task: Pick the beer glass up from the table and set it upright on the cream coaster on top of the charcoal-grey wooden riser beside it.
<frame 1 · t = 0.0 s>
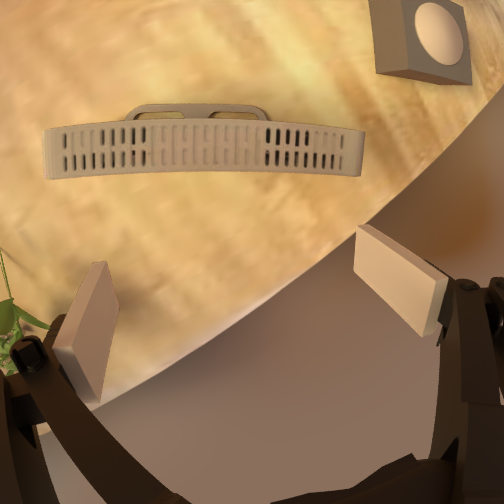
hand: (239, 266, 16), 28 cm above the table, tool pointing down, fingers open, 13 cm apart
network device: (195, 136, 39), on the table
plant cuttings: (0, 308, 41), on the table
riser: (407, 39, 38), on the table
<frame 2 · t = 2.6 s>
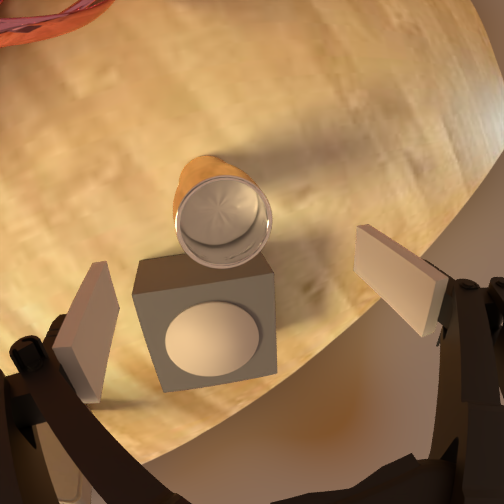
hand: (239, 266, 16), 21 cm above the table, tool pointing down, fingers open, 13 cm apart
beer glass: (206, 182, 35), on the table
network device: (33, 400, 41), on the table
riser: (205, 302, 40), on the table
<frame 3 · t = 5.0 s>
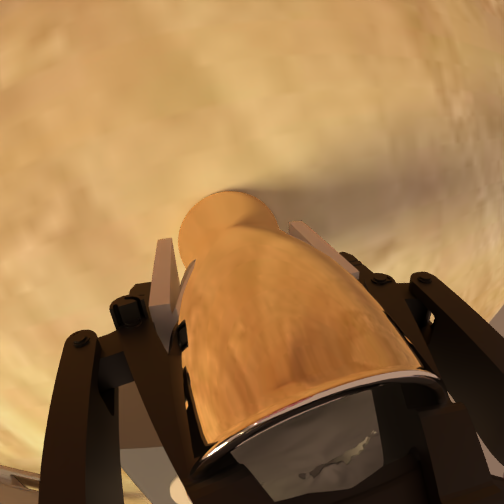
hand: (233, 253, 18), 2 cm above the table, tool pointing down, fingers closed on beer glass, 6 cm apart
beer glass: (228, 238, 20), on the table, touching gripper
network device: (11, 478, 26), on the table
riser: (223, 407, 25), on the table
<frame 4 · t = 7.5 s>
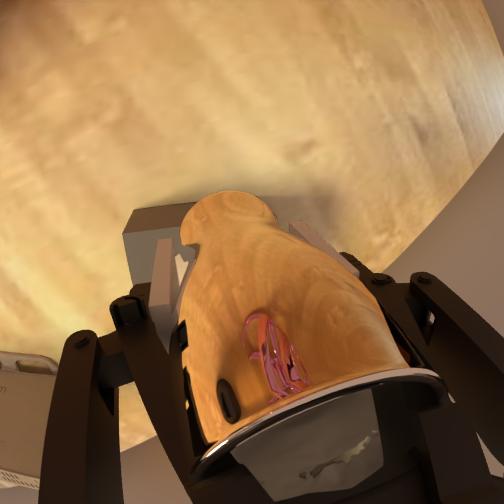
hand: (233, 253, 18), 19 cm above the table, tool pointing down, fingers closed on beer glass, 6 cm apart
beer glass: (228, 238, 20), point 17 cm above the table, touching gripper
network device: (14, 371, 38), on the table
riser: (201, 259, 38), on the table
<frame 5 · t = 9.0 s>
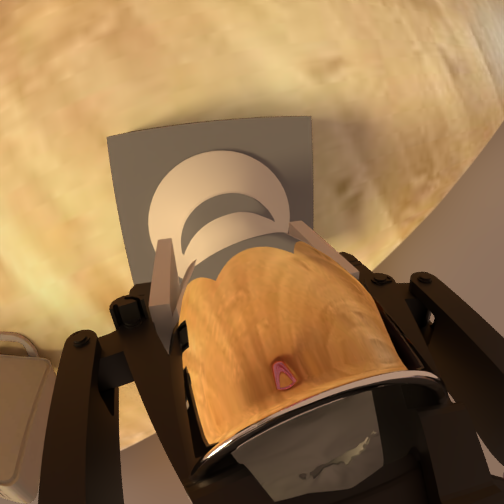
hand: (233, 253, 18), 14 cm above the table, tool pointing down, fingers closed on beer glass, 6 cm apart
beer glass: (228, 239, 20), point 11 cm above the table, touching gripper
riser: (209, 195, 30), on the table
when the fingers open (12 cm above the table, at t = 10.1 s): beer glass drops 1 cm, resting on riser.
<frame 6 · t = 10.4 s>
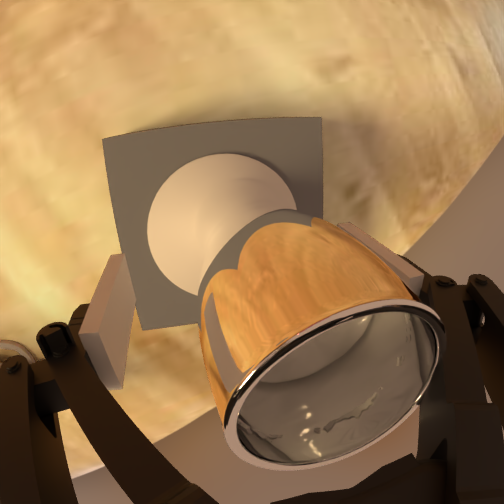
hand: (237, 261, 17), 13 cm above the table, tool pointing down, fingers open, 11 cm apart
beer glass: (240, 224, 21), point 8 cm above the table, touching riser
riser: (212, 200, 28), on the table
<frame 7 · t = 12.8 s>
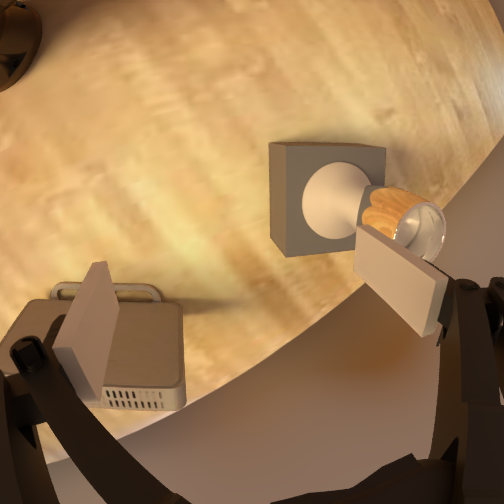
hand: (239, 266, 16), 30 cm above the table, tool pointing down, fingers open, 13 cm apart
beer glass: (346, 198, 39), point 8 cm above the table, touching riser
network device: (105, 306, 47), on the table
riser: (315, 188, 47), on the table
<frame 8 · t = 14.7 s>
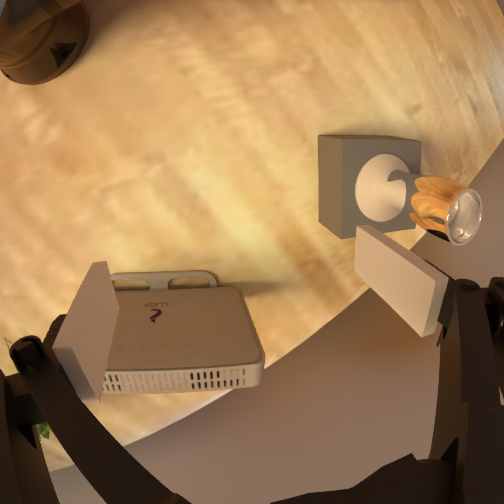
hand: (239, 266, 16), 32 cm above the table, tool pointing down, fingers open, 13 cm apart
beer glass: (391, 185, 43), point 8 cm above the table, touching riser
network device: (160, 295, 51), on the table
riser: (357, 177, 50), on the table
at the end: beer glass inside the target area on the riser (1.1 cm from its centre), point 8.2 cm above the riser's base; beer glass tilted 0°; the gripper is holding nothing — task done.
